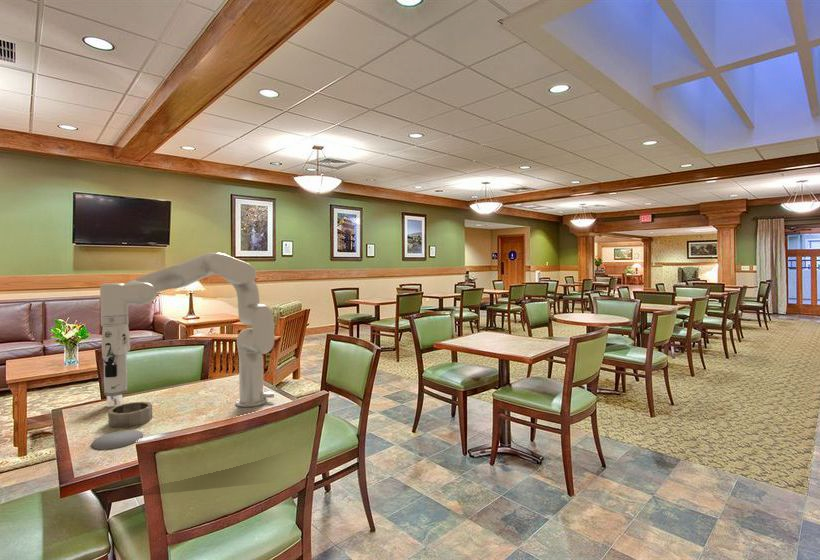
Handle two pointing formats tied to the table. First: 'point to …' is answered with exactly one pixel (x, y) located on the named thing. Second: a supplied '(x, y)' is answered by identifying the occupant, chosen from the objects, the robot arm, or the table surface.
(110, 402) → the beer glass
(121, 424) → the collar
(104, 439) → the mat
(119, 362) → the travel mug
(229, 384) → the table surface
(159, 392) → the table surface
